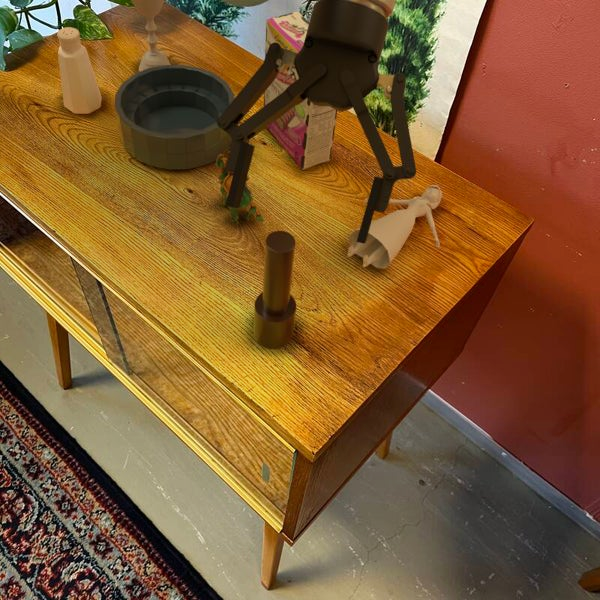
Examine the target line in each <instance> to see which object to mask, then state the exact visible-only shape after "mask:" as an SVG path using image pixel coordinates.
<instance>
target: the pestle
mask: <svg viewBox="0 0 600 600" xmlns="http://www.w3.org/2000/svg"><path fill="white" fill-rule="evenodd" d="M264 243H265V245H264V261H263V262H264V263H263V280H262V282H263V284H262V292H260V294H258V295H257V297H256V298H255V300H254V307H253V308H254V309H253V310H254V311H253V336H254V339H255V340H256V342H257V343H258V344H259V345H261V346H262V347H264V348H267V349H271V350H272V349H273V350H274V349H281V348H283V347H286V346H287V345H288V344H289V343H291V341H292V340H293V336H294V330H295V323H296V316H297V315H296V314H297V302H296V300H295V298H294V297H293V295H292V294H291V292H292V291H291V289H292V281H293V280H292V279H293V272H294V271H293V270H294V261H295V252H296V251H295V250H296V243H297V242H296V239H295V237H294V235H292V234H291V233H290V232H288V231H286V230H274V231H272V232H270V233H268V235H267V236H266V238H265V241H264Z"/></svg>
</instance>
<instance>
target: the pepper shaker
mask: <svg viewBox="0 0 600 600" xmlns="http://www.w3.org/2000/svg"><path fill="white" fill-rule="evenodd" d="M80 34H81V33H80V31H79V30H78V29H77V28H75V27H71V26H68V27H63V28H60V29H59V30H58V31H57V33H56V36H57V39H58V43H59V45H60V46H59V47H58V52H57V57H58V58H57V59H58V66H59V75H60V84H61V92H62V101H63V107H65V109H67V110H68V111H70V112H72V114H77V115H86V114H87V115H89V114H91V113H93V112H95V111H97V110H98V109H100V108H101V106H102V101H103V100H102V99H103V97H102V94H101V91H100V87H99V84H98V81H97V78H96V75H95V72H94V71H95V70H94V69H93V66H92V62H91V59H90V56H89V52H88V50H87V47H86V46H84V45H82V41H81V35H80Z"/></svg>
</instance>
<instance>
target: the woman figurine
mask: <svg viewBox="0 0 600 600" xmlns="http://www.w3.org/2000/svg"><path fill="white" fill-rule="evenodd" d="M442 198H443V191H442V190H441V188H440V187H439V185H437V184H432V185H429V186H428V187H427V188H426V189H425V191H424V192H423V193H422V195H421V196H419V195H417V196H413V198H410V199H394V198H390V200H389V203H388V205H396V206H407V208H403V209H397V210H394V211H392V212H389V213H387V214H386V215H384V216H382V217H380V218H378V219H375V220H372V222H371V225H370V229H369V233H368V236H367V240H366V243H364V244H363V243H360V242H357V238H358V235H359V231H360V227H358V228H356V229H354V230H353V231H352V232H351V233H350V234H349V235H348V240H349V243H348V244H349V247H348V248H347V257H348V258H350V257H352V256H354V255H357V256H359V257H360V258H362V262H363V263H362V267H363V268H366V267H368V266H369V265H372V266H373V267H375V268H376V269H385V270H386V269H387V268H388V266H389V265H390V264H391V263H392V261H393V260H394V259H395V258H396V256H397V255H398V254H399V252H400V251H401V250H402V248H403V246H404V244H405V243H406V241H407V240H408V238H409V236H410V234H411V233H412V231H413V229H414V226H415V223H416V218H419V217H426V220H427V222H428V226H429V228H430V230H431V232H432V235H433V238H434V243H435V245H436V246H435V248H440V245H441V243H440V240H439V238H438V233H437V230H436V224H435V221H434V217H433V210H435V209H437V207H438V206H439V205H440V204H441V201H442ZM368 199H369V197H366V198H364V202H365V203H366V204H367V202H368Z"/></svg>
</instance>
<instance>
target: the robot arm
mask: <svg viewBox="0 0 600 600" xmlns="http://www.w3.org/2000/svg"><path fill="white" fill-rule="evenodd" d="M220 1H221V2H223V3H225V4H228V5H230V6H233V7H239V8H253V7H256V6H260V5H262V4H264V3H267V2H269V0H220ZM396 1H397V0H317V2H315V3H314V4H313V7H312V11H311V14H310V19H309V21H308V22H309V26H308V29H307V33H306V37H305V41H304V45H303V47H302V49H301V50H300V51H299V52H298V53H294V52H292V51H289V50H286V49H284V48H282V47H281V46H280V45H279V44H278V43H275V42H274V43H272V44H271V45H270V46H269V49H268V51H267V54H266V57H265V56H264V60H263V63H262V64H261V65H260V66H259V68H258V69H257V70H256V71H255V72H254V73H253V75H252V76H251V77H250V79H249V80H248V82H247V83H246V84H245V85H244V86H243V87H242V89H240V91H239V92H238V94H237V95H236V96H234V97H235V99H234V100H233V101H232V102H231V104H230V105H229V106H228V107H227V108H226V110H225V111H224V112H223V113H222V115H221V116H220V117H219V118H218V120H217V125H218V127H219V128H221V129H222V130H224V131H225V132H227V133H228V134H229V135H230V136H231V140H232V141H231V146H230V148H229V149H228V155H227V157H226V159H227V162H226V171H229V172H232V173H234V174H233V178H232V182H231V186H230V190H229V194H228V198H227V202H226V206H225V207H228V206H229V207H232V208H238V209H240V208H239V207H240V203H241V199H242V195H243V191H244V187H245V183H247V181H246V179H247V175H248V176H249V171H250V167H251V163H252V159H253V155H254V151H255V146H254V145H252V144H251V143H249V141H251V140H252V139H253V138H254V137H256V136H257V135H258V134H260V133H261V132H262V131H263V130H265V129H267V128H266V127H268V126H269V125H270V124H272V123H273V122H274V121H276V120H277V119H278V118H280V117H281V116H282V115H284V114H285V113H286V112H288V111H289V110H290V109H292V108H293V107H294V106H296V105H299V104H300V103H302V102H303V101H304V100H306V99H307V98H308V100H309V101H310V102H312V103H313V104H314V105H318V106H330V107H331V108H333V109H335V110H337V112H342V113H344V112H346V111H350V110H352V109H353V112H354V113H355V116H356V117H357V119H358V122H359V124H360V126H361V129H362V130H363V133H364V135H365V137H366V139H367V142H368V144H369V146H370V148H371V151H372V153H373V155H374V158H375V159H376V161H377V164H378V166H379V168H380V170H381V172H382V177H380V176H379V177H378V176H374V177H373V181H372V184H371V189H370V192H369V196H368V198H369V199H368V202H367V203H366V207H365V210H364V213H363V217H362V221H361V224H360V227H359V228H360V231H359V235H358V238H357V242H360V243H363V244H364V243H366V240H367V236H368V233H369V229H370V225H371V222H373V218H374V215H375V212H378V213H381V214H385V212H386V211H387V209H388V207H389V204H388V203H389V200H390V199H391V195H392V193H393V188H394V186H395V184H396V182H398V181H402V180H403V181H404V180H412V179H414V178H415V177H416V175H417V166H416V161H415V160H416V159H415V155H414V150H413V145H412V140H411V134H410V128H409V123H408V117H407V113H406V107H405V102H404V98H405V94H406V89H407V88H406V87H407V76H406V75H405V74H404V73H402V72H397V73H395V74H387V73H380V72H379V64H380V60H381V56H382V52H383V48H384V45H385V42H386V38H387V34H388V32H389V26H390V25H389V22H388V20H387V19H388V18H390V17H391V16H392V15H393V13H394V8H395V4H396ZM291 65H294V66H295V69H296V72H297V74H298V77H299V79H298V80H296V81H295V82H294V83H292V84H291V85H290V86H288V87H287V88H286V90H285V91H284V92H283V93H281V94H280V95H279V96H277V97H276V98H275V99H273V100H272V101H271V102H269V103H268V104H267V105H265V106H264V105H263V107H262V108H260V109H259V110H257V111H256V112H254V113H253V114H252V115H251V116H249V117H248V118H247V119H245V120H244V121H243V122H241V121H242V120H243V119H244V118H245V117H246V115H247V114H248V113H249V112H250V111H251V109H252V108H253V107H254V106H255V104H256V103H257V102H258V101H259V100H260V99H261V97H262V96H264V92H265V91H266V90H267V88H268V87H269V86H270V85H271V84H272V82H273V81H274V80H275V78H276V77H277V75H278V74H279V72H284V71H286V69H287V68H288V67H289V66H291ZM377 87H380V88H381V89H382V90H383V91H382V92H383V96H384V98H386V99H387V100H388V99H389V100H390V106H391V114H392V119H393V123H394V129H395V136H396V141H397V146H398V151H399V156H400V162H401V165H399V166H397V165H396V166H394V163H393V162H392V159H391V157H390V155H389V152H388V150H387V148H386V146H385V143H384V141H383V139H382V137H381V135H380V133H379V130H378V129H377V126H376V123H375V121H374V119H373V116H372V115H371V113H370V110H369V108H368V106H367V104H366V101H365V100H364V99H365V98H366V97H367V96H368V95H369V94H371V93H372V92H373V91H374V90H375V89H376V88H377ZM240 122H241V123H240ZM229 207H228V208H229Z"/></svg>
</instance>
